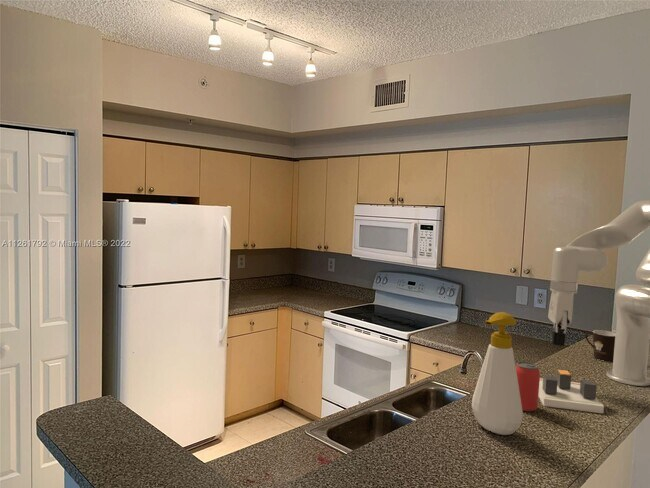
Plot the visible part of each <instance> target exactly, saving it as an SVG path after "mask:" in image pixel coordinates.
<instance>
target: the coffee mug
mask: <svg viewBox="0 0 650 488" xmlns="http://www.w3.org/2000/svg"><path fill="white" fill-rule="evenodd" d="M589 334H590V335H592V339H593V340H592V342H593V343H592V342H590V341H589V339H588V335H589ZM584 335H585V336H584V337H585V339H586V342H587V344H589V345H590V346H591V347H592V348H593V358H594V357H595V358H597V359H600V360H604V361H603V362H605V361H613V358H614V347H615V335H616V332H614V331H608V330H600V329H599V330H598V329H597V330H593V331H589V332H586V333H585V334H584ZM595 358H594V359H595ZM597 359H596V360H597ZM600 360H599V361H600Z"/></svg>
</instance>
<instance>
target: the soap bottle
mask: <svg viewBox="0 0 650 488" xmlns="http://www.w3.org/2000/svg"><path fill="white" fill-rule="evenodd" d="M484 325H487V326H493V327H494V326H498V331H494V332H493V333H491V336H490V344H488V347H487V350H486V354H485V357H484V360H483V363H482V366H481V368H480V373H479V376H478V379H477V382H476V386H475V388H474V392H473V395H472V398H471V399H472V400H471V408H472V412H473V414H474V417H475V419H476V421H477V422H478V425H480V426H481V427H483V428H484V429H485V430H487V431H489V432H490V431H491V433H493V434H496V435H499V436H500V435H501V436H507V435H512V434H514V433H515V432H516V431H517V430H518V429H519V428H520V425H521V423H522V422H523V415H524V414H523V413H524V411H522V405H521V398H520V392H519V386H518V379H517V373H516V362H515V356H514V355H515V354H514V349H513V347H512V341H513V337H512V336H511V334H510V333H509V332H507V331H506V326H515V325H517V320H516V318H515V317H513V315H511V314H509V313H508V312H504V311H500V312H495V313H494V314H492V315H491V316H490V317H489V318H488V319H487V320H484Z"/></svg>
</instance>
